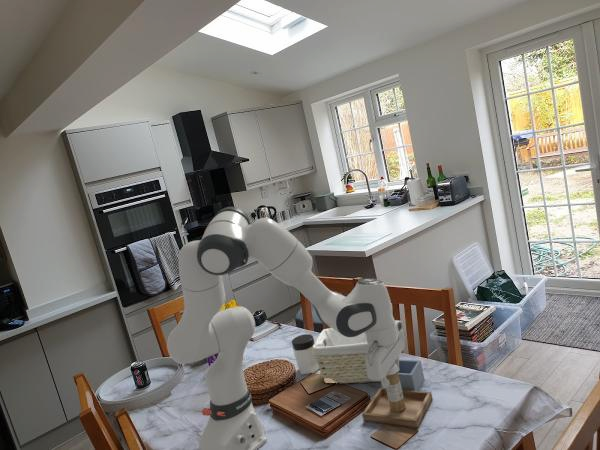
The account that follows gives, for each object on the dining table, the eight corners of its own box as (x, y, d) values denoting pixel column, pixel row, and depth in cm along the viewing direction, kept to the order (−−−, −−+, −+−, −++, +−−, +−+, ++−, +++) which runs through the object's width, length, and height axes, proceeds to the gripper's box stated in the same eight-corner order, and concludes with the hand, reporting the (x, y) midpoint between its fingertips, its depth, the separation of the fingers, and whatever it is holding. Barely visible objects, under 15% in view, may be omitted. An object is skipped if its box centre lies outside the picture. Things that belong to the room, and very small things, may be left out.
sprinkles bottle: (396, 402, 138) (387, 360, 136) (409, 406, 134) (399, 363, 132) (387, 410, 135) (377, 367, 133) (399, 414, 131) (389, 370, 129)
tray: (417, 428, 124) (416, 420, 124) (363, 421, 133) (362, 414, 133) (432, 399, 136) (431, 392, 135) (382, 394, 145) (380, 387, 144)
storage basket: (395, 359, 165) (387, 321, 162) (390, 384, 150) (380, 341, 147) (331, 364, 173) (322, 327, 170) (320, 388, 158) (310, 348, 155)
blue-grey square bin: (415, 394, 140) (411, 375, 139) (388, 392, 145) (384, 373, 144) (424, 379, 147) (420, 360, 146) (398, 377, 152) (394, 359, 151)
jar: (309, 376, 167) (301, 346, 166) (294, 372, 173) (286, 342, 172) (325, 364, 173) (318, 335, 171) (310, 361, 179) (303, 332, 177)
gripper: (377, 351, 121) (388, 400, 123) (404, 318, 137) (413, 361, 139) (355, 350, 124) (366, 397, 126) (384, 318, 141) (393, 360, 143)
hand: (391, 378), depth 133 cm, fingers open, 7 cm apart
